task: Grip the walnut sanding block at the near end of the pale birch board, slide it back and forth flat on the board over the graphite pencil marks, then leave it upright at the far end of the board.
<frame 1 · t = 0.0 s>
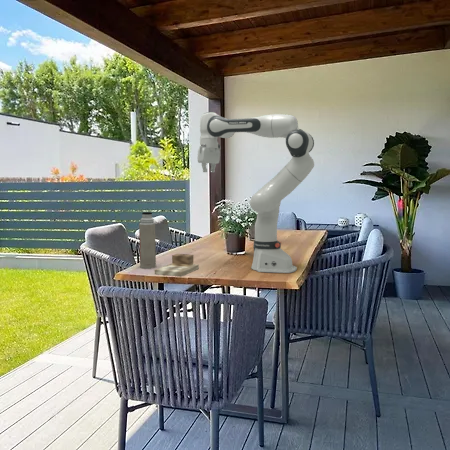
hand: (208, 172, 232), 48 cm above the table, fingers open, 8 cm apart
thermos bottle: (148, 267, 230), on the table
board: (177, 271, 220), on the table
sanding block: (182, 265, 225), point 2 cm above the table, touching board
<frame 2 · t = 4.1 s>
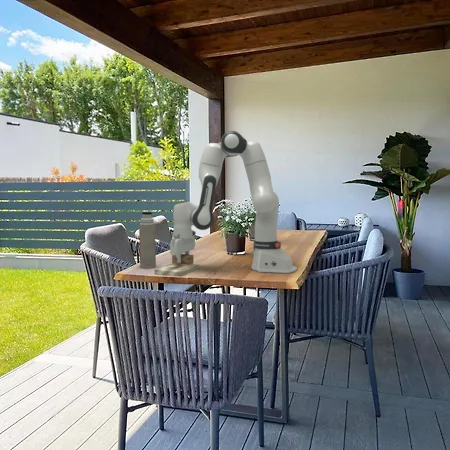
hand: (182, 261, 225), 4 cm above the table, fingers closed on sanding block, 5 cm apart
sanding block: (182, 265, 225), point 2 cm above the table, touching board, gripper
everything else where it was.
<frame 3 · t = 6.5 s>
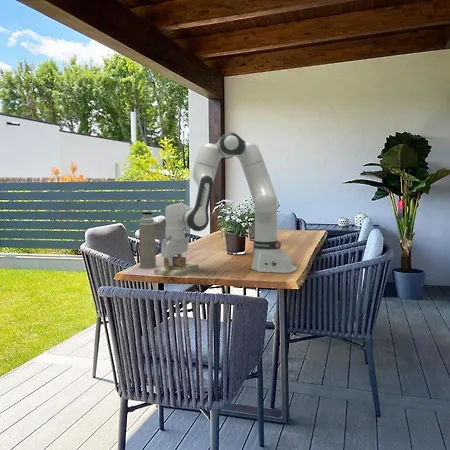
hand: (175, 263, 217), 4 cm above the table, fingers closed on sanding block, 5 cm apart
sanding block: (175, 267, 218), point 2 cm above the table, touching gripper
everything else where it was.
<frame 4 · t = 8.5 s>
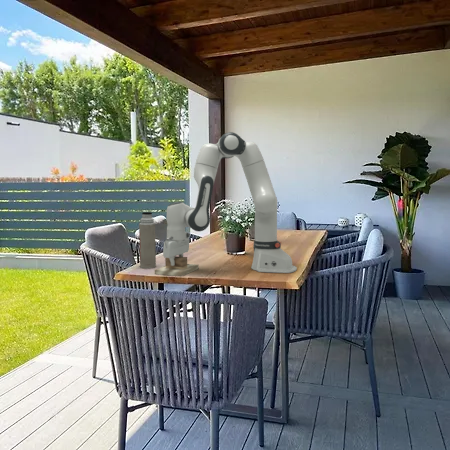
hand: (176, 264, 218), 4 cm above the table, fingers closed on sanding block, 5 cm apart
sanding block: (176, 267, 218), point 2 cm above the table, touching gripper
everything else where it was.
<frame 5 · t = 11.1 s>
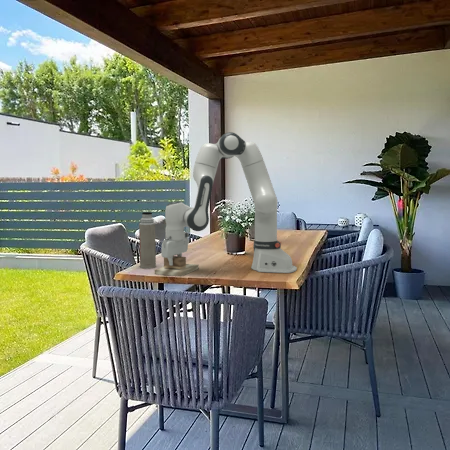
hand: (175, 263, 217), 4 cm above the table, fingers closed on sanding block, 5 cm apart
sanding block: (174, 267, 218), point 2 cm above the table, touching gripper
everything else where it was.
when the fingers open (4 cm above the table, at t = 13.1 s): sanding block stays where it is, resting on board.
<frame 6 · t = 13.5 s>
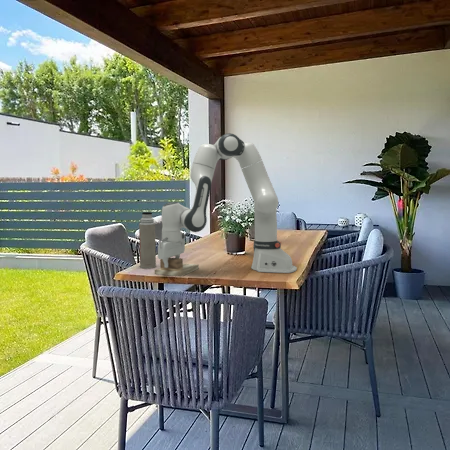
hand: (171, 265, 214), 4 cm above the table, fingers open, 8 cm apart
sanding block: (171, 269, 214), point 2 cm above the table, touching board
everything else where it was.
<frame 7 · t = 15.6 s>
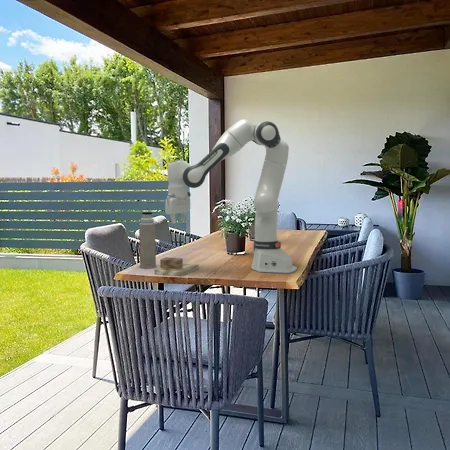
hand: (178, 222, 220), 24 cm above the table, fingers open, 8 cm apart
nothing on the table moved.
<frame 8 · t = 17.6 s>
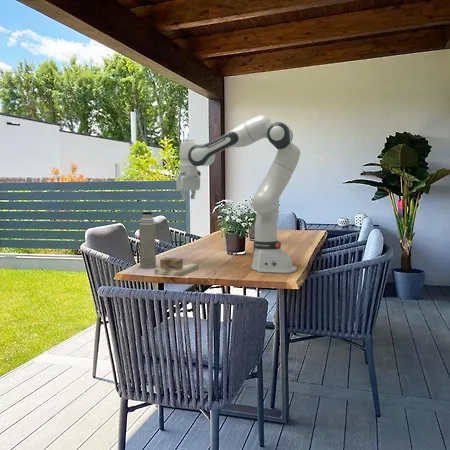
hand: (188, 199, 232), 34 cm above the table, fingers open, 8 cm apart
nothing on the table moved.
at the end: sanding block inside the target area on the board (0.1 cm from its centre), point 2.0 cm above the board's base; sanding block tilted 1°; the gripper is holding nothing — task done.
